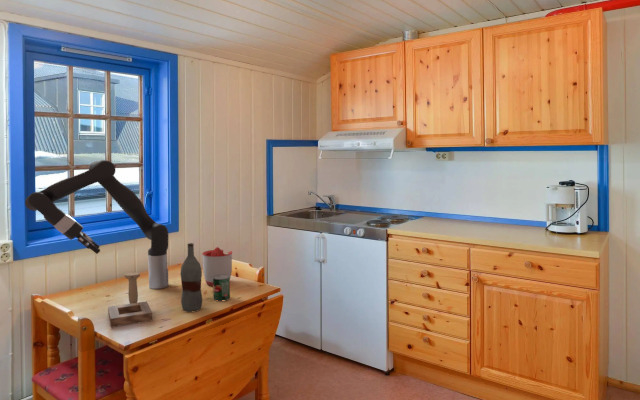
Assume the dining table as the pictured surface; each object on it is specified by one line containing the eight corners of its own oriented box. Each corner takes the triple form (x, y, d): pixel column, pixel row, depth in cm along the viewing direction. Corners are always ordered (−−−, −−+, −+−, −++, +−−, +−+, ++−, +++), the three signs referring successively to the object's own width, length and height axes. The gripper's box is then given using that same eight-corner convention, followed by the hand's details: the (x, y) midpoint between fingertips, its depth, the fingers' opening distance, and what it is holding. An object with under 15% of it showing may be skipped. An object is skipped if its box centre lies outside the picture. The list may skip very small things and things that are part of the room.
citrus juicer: (240, 281, 253) (240, 245, 250) (217, 289, 238) (217, 251, 236) (220, 277, 261) (219, 242, 259) (196, 284, 246) (195, 247, 244)
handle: (126, 304, 214) (125, 273, 212) (141, 303, 216) (140, 272, 214) (125, 308, 209) (124, 275, 208) (140, 306, 211) (139, 274, 210)
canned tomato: (233, 297, 226) (232, 275, 225) (224, 302, 219) (224, 279, 218) (218, 295, 229) (218, 273, 228) (210, 300, 221) (209, 277, 220)
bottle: (188, 314, 203) (187, 246, 199) (177, 309, 209) (175, 243, 205) (206, 308, 210) (205, 243, 206) (195, 304, 216) (193, 240, 212)
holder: (147, 308, 209) (146, 301, 208) (152, 320, 195) (152, 312, 194) (108, 314, 201) (108, 306, 201) (110, 327, 187) (110, 318, 187)
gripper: (75, 222, 197) (105, 247, 203) (75, 218, 210) (104, 241, 216) (61, 236, 195) (92, 260, 202) (62, 230, 208) (91, 253, 214)
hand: (98, 250), depth 209 cm, fingers open, 8 cm apart
